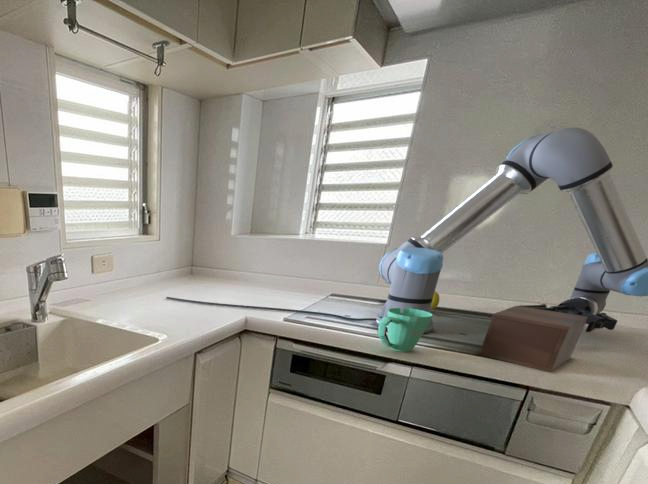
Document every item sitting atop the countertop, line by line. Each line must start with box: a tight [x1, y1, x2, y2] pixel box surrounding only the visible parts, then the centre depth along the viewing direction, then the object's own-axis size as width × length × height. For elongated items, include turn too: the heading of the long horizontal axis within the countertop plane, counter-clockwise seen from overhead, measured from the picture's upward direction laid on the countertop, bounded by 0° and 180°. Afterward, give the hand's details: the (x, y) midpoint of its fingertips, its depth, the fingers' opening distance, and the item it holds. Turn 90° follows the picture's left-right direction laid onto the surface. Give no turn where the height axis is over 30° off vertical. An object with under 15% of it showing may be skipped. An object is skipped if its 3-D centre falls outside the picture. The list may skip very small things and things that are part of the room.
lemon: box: [431, 290, 440, 311], centre depth 144 cm, size 6×6×8 cm
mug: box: [376, 308, 434, 353], centre depth 104 cm, size 15×10×10 cm
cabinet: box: [478, 305, 588, 372], centre depth 99 cm, size 16×14×11 cm
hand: (554, 321), depth 107 cm, fingers open, 13 cm apart
